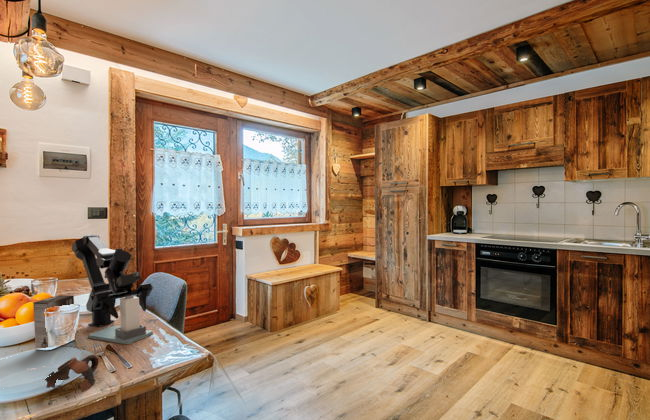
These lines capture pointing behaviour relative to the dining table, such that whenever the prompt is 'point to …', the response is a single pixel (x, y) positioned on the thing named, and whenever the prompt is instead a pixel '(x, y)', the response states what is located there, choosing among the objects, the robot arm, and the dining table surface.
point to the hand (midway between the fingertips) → (131, 314)
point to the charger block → (129, 313)
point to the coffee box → (39, 316)
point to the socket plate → (113, 338)
